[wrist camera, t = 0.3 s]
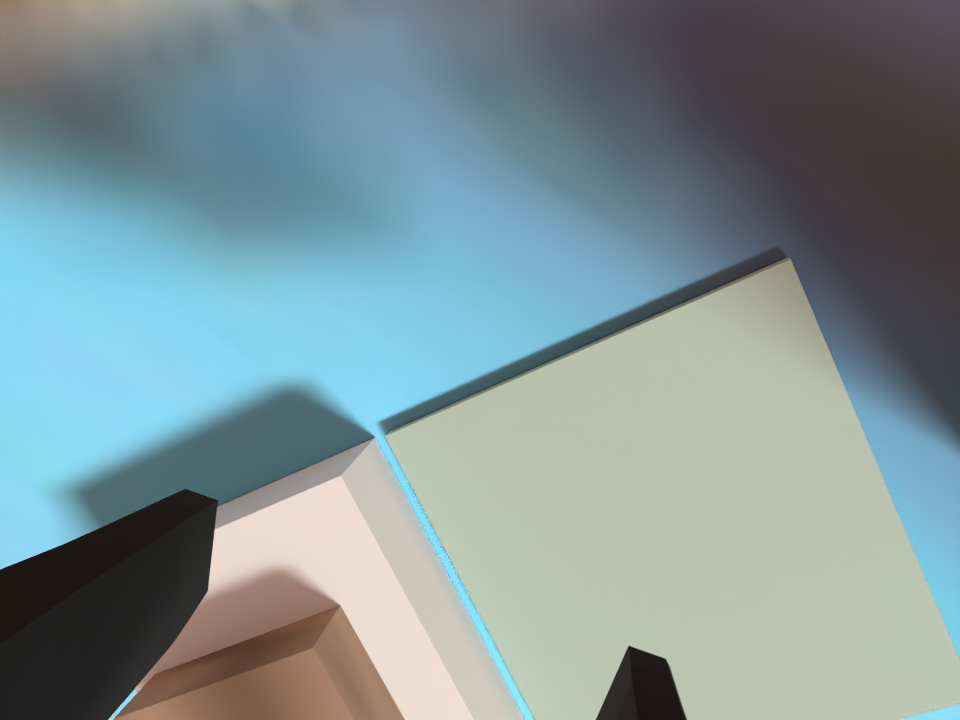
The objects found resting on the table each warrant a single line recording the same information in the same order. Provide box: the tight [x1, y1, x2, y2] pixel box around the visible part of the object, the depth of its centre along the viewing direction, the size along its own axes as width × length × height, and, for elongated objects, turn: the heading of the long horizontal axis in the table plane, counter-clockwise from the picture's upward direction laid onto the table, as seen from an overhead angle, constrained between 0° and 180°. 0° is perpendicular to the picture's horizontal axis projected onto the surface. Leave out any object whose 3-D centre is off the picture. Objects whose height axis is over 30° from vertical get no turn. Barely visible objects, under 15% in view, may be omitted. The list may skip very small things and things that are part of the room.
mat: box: [385, 257, 960, 720], centre depth 22 cm, size 12×14×1 cm
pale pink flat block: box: [135, 438, 525, 720], centre depth 24 cm, size 10×14×3 cm
